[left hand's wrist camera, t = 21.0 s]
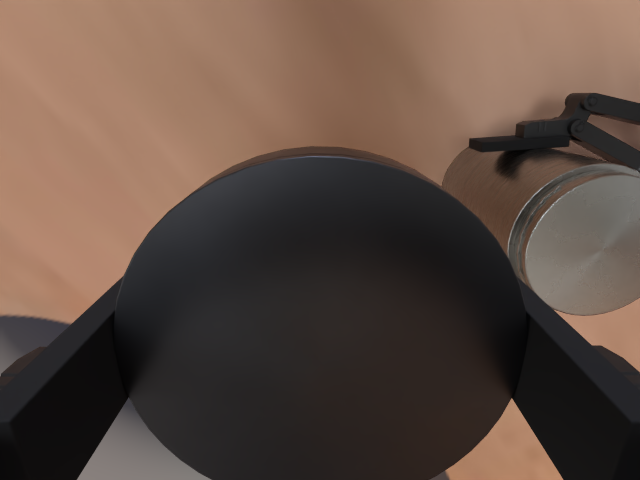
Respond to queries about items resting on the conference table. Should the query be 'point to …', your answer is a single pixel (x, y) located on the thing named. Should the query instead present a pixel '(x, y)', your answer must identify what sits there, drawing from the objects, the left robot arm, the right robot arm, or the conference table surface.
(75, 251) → the conference table surface
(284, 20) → the conference table surface
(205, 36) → the conference table surface
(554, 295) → the jar
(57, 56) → the conference table surface
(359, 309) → the lid
